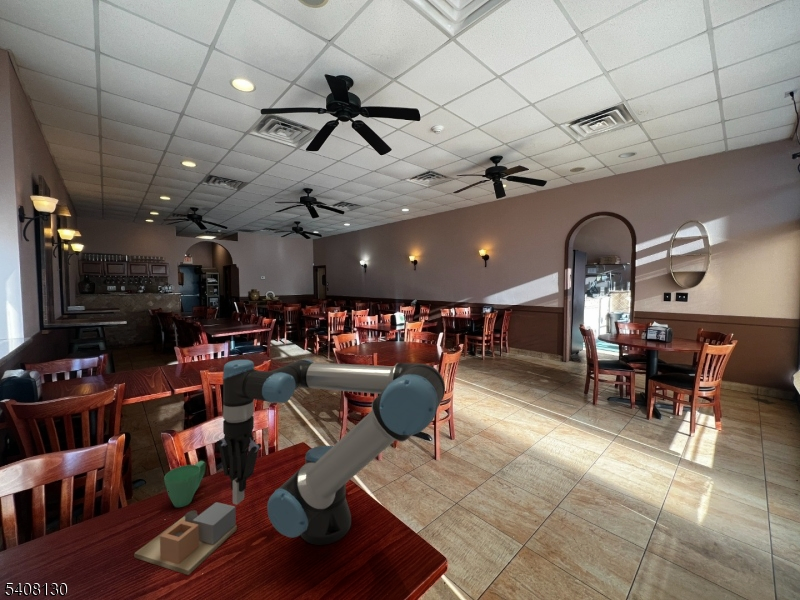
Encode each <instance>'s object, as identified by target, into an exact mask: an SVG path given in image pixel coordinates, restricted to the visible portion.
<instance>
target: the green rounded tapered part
mask: <svg viewBox="0 0 800 600" xmlns="http://www.w3.org/2000/svg"><path fill="white" fill-rule="evenodd" d="M206 473H207V463H206V462H205V461H204V460H200V461H199V460H198V462H196V463H195V464H186V465H181V466H179V467H176V468H173V469H171V470H170V471H167V473H166V474H165V475H164V477H163V478H164V485H165V488H166V490H167V495H168V498H169V499H170V501H171V503H172V505H173V506H174V507H175V508H183V507H186V506H188V505H190V504H191V503H192V500H193V498H194V495H195V493H196V491H197V490H198V488H199V487H200V486H201V484H202V481H203V479H204V478H205V475H206ZM168 491H169V492H168Z"/></svg>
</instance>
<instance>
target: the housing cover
mask: <svg viewBox="0 0 800 600" xmlns="http://www.w3.org/2000/svg"><path fill="white" fill-rule="evenodd" d="M236 513H237V512H236V506H235V505H230V504H226V503H221V502H218V501H217V502H214V503H213V504H212V505H210V506H209V507H208V508H206V509H205V510H204V511H202V512H201V513H200V514H198V516H197V517H196V518H195V519H193V523H194V524H198V525H199V541H202V542H206V543H209V544H214V543H216V542H217V541H218V540H219V539H220V538H221V537H222V536H223V535H224V534H225V533H226V532H228V531H229V530H230V529H231V528H232V527H233V526H234V525H237V524H236V519H237V518H236Z"/></svg>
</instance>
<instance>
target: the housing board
mask: <svg viewBox="0 0 800 600" xmlns="http://www.w3.org/2000/svg"><path fill="white" fill-rule="evenodd" d="M197 516H199V514H198V511H197V510H193V509H192V510H190V511H188V512H186V514H184V516H183V517H181V518H180V519H179V520H177V521H175V522H174V524H171V526H169V527H168V528H167V529H165V530H164V531H162V532H160V533H159V534H158V535H157V536H155V537H154V538H152V539H151V540H150V541H149V542H147V543H146V544H145V545H143V546H142V547H140V549H138V550H137V551H135V552H134V557H133V558H135V559H138V560H141V561H144V562H147V563H148V564H149V563H150V564H153V565H156V566H159V567H162V568H165V569H168V570H171V571H173V572H178V573H181V574H183V575H187V576H189V575H190V574H191V573H192V572H193V571H195V570H196V569H197V568H198V567H199V566H200V565H201V564H202V563H203V562H204V561H205V560H206V559H207V558H208V557H209V556H211V555H212V554H213V553H214V552H215V551H216V550H217V549H218V548H219V547H221V545H222V544H223V543H225V542H226V541H227V539H229V538H230V537H231V536H232V535H233V534H234V533H235V532H236V531H237V530H238V525H237V524H235V525H234V526H233V527H232V528H231V529H230V530H229V531H228V532H226V533H225V534H224V535H223V536H222V537H221V538H220V539H219V540H218V541H217V542H216V543H214V544H209V543H206V542H202V541H199V547H198V548H196V549H195V550H194V551H193V552H192V553H191V554H190V555H189V556H187V557H186V558H185V559H184V560H183V561H182V562H181V563H179V564H176V563H173V562H170V561H167V560H163V559H160V536H161V535H162V534H163V533H165V532H166V531H167V530H169V529H170V528H171V527H173V526H174V525H175V524H177V523H178V522H179V521H181V520H183V521H187V522H190V523H193V519H195V518H196V517H197ZM183 533H184V532H178V533H176V534H175V535H174V536H177V537H180V536H181V535H182V534H183Z"/></svg>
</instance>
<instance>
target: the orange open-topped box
mask: <svg viewBox="0 0 800 600" xmlns="http://www.w3.org/2000/svg"><path fill="white" fill-rule="evenodd" d="M178 521H179V520H178ZM174 524H175V523H174ZM178 532H184V533H183V534H182V535H181V536H180V537H177V536H174V535H175V534H176V533H178ZM198 547H199V525H198V524H194V523H190V522H187V521H183V520H181V521H179V522H178V523H177V524H175V525H174V526H173V527H171V528H170V529H169V530H167V531H166V532H165V533H163V534H162V535H161V536H160V559H163V560H167V561H170V562H173V563H176V564H179V563H181V562H182V561H183V560H184V559H185V558H186V557H187V556H189V555H190V554H191V553H192V552H193V551H194V550H195V549H196V548H198Z"/></svg>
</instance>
